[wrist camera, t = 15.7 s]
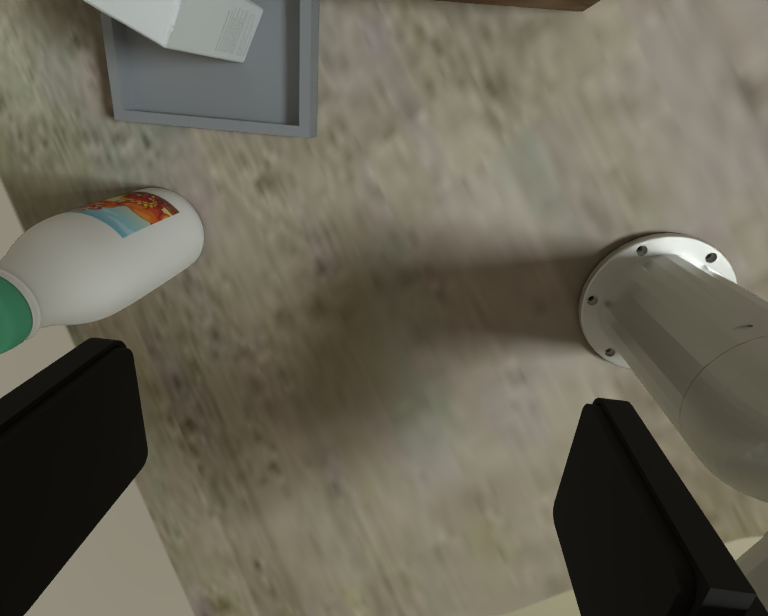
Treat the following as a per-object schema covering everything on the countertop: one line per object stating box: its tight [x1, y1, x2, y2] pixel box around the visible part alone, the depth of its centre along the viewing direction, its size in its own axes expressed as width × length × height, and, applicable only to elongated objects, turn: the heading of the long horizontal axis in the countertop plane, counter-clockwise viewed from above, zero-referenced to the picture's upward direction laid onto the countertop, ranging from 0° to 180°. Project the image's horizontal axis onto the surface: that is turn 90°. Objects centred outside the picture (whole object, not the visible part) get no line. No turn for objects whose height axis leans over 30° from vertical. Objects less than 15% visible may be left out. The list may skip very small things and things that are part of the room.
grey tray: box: [100, 0, 319, 138], centre depth 35 cm, size 16×16×2 cm
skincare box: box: [83, 0, 263, 63], centre depth 30 cm, size 6×4×12 cm
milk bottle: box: [0, 188, 204, 354], centre depth 34 cm, size 8×8×20 cm
